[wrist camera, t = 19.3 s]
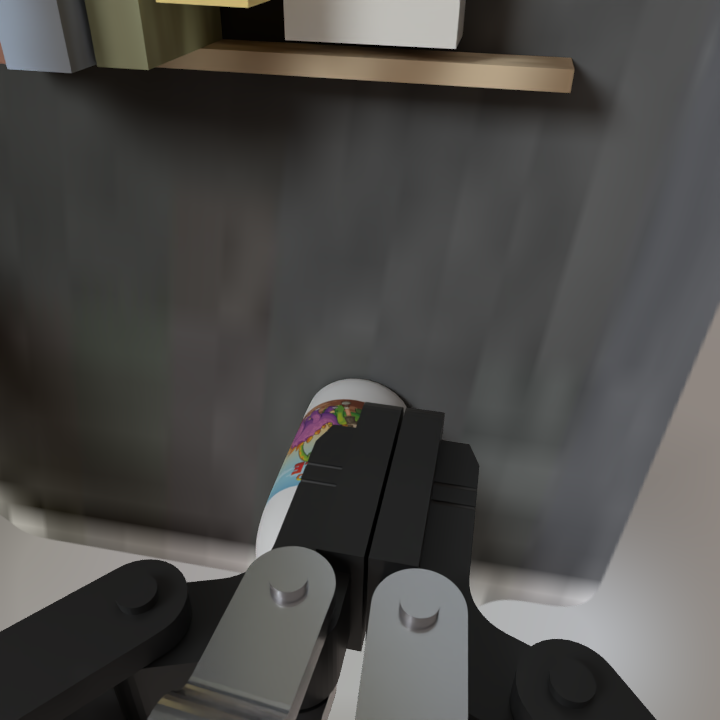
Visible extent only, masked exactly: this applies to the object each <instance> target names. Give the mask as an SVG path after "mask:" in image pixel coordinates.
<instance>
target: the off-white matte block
mask: <svg viewBox="0 0 720 720" xmlns="http://www.w3.org/2000/svg"><path fill="white" fill-rule="evenodd" d="M283 3H284V26H285V40H293V41H312V42H331V43H350V44H369V45H388V46H407V47H426V48H445V49H456V48H457V46H458V44H459V42H460V40H461V38H462V36H463V26H464V15H465V4H466V0H283Z"/></svg>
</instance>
